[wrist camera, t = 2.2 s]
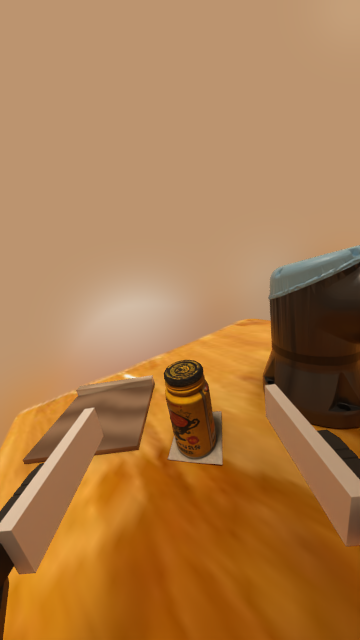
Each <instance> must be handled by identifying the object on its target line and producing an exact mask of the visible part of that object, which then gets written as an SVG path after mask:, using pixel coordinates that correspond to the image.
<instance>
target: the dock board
mask: <svg viewBox="0 0 360 640" xmlns="http://www.w3.org/2000/svg"><path fill="white" fill-rule="evenodd" d="M154 385H155V383H154V379H153V375H152V376H145V377H139V378H132V379H125V380H118V381H112V382H105V383H98V384H91V385H85V386H80V387H79V388H78V389H77V390H76V391H77V393H78V397H77V398H76V399H75V400H74V401H73V402H72V404H71V405H70V406H69V407H68V408H67V409H66V411H65V412H64V413H63V414H62V415H61V416H60V417H59V419H58V420H57V421H56V422H55V423H54V424H53V426H52V427H51V428H50V429H49V430H48V431H47V433H46V434H45V435H44V436H43V437H42V438H41V440H40V441H39V442H38V443H37V444H36V445H35V446H34V448H33V449H32V450H31V451H30V452H29V453H28V455H27V456H26V457H25V458H24V459H23V462H24V464H29V463H37V462H45V461H47V459H48V458H49V456H50V455H51V454H52V452H53V451H54V450H55V448H56V447H57V446H58V444H59V443H60V442H61V440H62V439H63V438H64V436H65V435H66V434H67V432H68V431H69V430H70V428H71V427H72V426H73V424H74V423H75V422H76V420H77V419H78V417H79V416H80V415H81V413H82V412H83V411H84V409H88V408H95V411H96V414H97V417H98V420H99V423H100V427H101V430H102V433H103V438H102V440H101V442H100V444H99V446H98V448H97V450H96V452H95V454H94V455H100V454H108V453H116V452H124V451H132V450H138V449H139V445H140V441H141V437H142V433H143V429H144V425H145V421H146V417H147V413H148V409H149V405H150V401H151V397H152V393H153V389H154Z"/></svg>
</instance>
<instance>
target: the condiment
mask: <svg viewBox="0 0 360 640" xmlns="http://www.w3.org/2000/svg"><path fill="white" fill-rule="evenodd" d="M164 379H165V385H166V389H165V395H166V400H167V405H168V409H169V413H170V419H171V422H172V427H173V432H174V438H173V442H172V446H171V449H170V453H169V457H168V459H170V460H177V461H185V462H195V463H207V464H209V463H211V464H220V465H222V421H221V411H219V412H218V411H217V412H212V406H211V399H210V392H209V386H208V383H207V382H206V380H205V377H204V375H203V367H202V366H201V364H200V363H198V362H196V361H192V360H183V361H178V362H175V363H173V364H171V365H170V366H168V367H167V368H166V370H165V372H164Z"/></svg>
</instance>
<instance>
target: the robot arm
mask: <svg viewBox="0 0 360 640" xmlns="http://www.w3.org/2000/svg"><path fill="white" fill-rule="evenodd" d="M269 300H270V315H271V337H272V351H271V354H270V357H269V360H268V362H267V365H266V368H265V370H264V373H263V387H264V391H265V404H266V417H267V418H268V420H269V422H270V423H271V425H272V427H273V428H274V430H275V431H276V433H277V435H278V436H279V438H280V440H281V441H282V443H283V445H284V446H285V448H286V449H287V451H288V453H289V454H290V456H291V458H292V459H293V461H294V462H295V464H296V466H297V467H298V469H299V471H300V472H301V474H302V476H303V477H304V479H305V480H306V482H307V484H308V485H309V487H310V489H311V490H312V492H313V493H314V495H315V497H316V498H317V500H318V502H319V503H320V505H321V506H322V508H323V510H324V511H325V513H326V515H327V516H328V518H329V520H330V521H331V523H332V524H333V526H334V528H335V529H336V531H337V533H338V534H339V536H340V537H341V539H342V541H343V542H344V544H345V546H357V545H360V459H359V458H358V456H357V455H356V454H355V453H354V452H353V451H352V450H350V449H349V447H348V446H347V445H346V444H345V443H344V442H343V441H342V440H341V439H340V438H339V437H337V436H336V435H334V434H333V433H331V432H330V431H328V430H320V431H316V430H315V429H314V427H313V426H312V425H311V424H310V423H312V424H316V425H320V426H325V427H331V428H353V427H358V426H360V245H359V246H355V247H351V248H347V249H344V250H340V251H336V252H332V253H329V254H325V255H321V256H317V257H314V258H310V259H307V260H302V261H299V262H295V263H292V264H289V265H285V266H282V267H279V268H277V269H276V270H275V271H274V272H273V273H272V275H271V278H270V295H269ZM102 438H103V433H102V430H101V427H100V423H99V420H98V417H97V414H96V411H95V408H88V409H84V411H83V412H82V413H81V415H80V416H79V417H78V419H77V420H76V422H75V423H74V424H73V426H72V427H71V428H70V430H69V431H68V432H67V434H66V435H65V436H64V438H63V439H62V440H61V442H60V443H59V444H58V446H57V447H56V448H55V450H54V451H53V452H52V454H51V455H50V456H49V458H48V459H47V461H46V462H45V463H42V464H39V465H38V466H37V467H36V468H35V469H34V470H33V471H32V472H31V473H30V474H29V475H28V476H27V478H26V479H25V480H24V482H23V483H22V484H21V486H20V487H19V488H18V489H17V490H16V492H15V493H14V494H13V497H11V498H10V499H9V501H8V502H7V503H6V505H5V506H4V507H3V508H2V510H1V511H0V640H3V632H4V624H5V615H6V606H7V597H8V589H9V580H8V575H9V573H10V572H11V570H12V568H13V567H15V568H16V570H17V572H18V573H19V574H27V573H36V571H37V569H38V567H39V565H40V563H41V561H42V559H43V557H44V555H45V553H46V551H47V549H48V547H49V545H50V543H51V541H52V539H53V537H54V535H55V533H56V531H57V529H58V527H59V525H60V523H61V521H62V519H63V517H64V515H65V513H66V511H67V509H68V507H69V505H70V503H71V501H72V499H73V497H74V495H75V493H76V491H77V489H78V487H79V485H80V482H81V480H82V478H83V476H84V474H85V472H86V470H87V468H88V466H89V464H90V462H91V460H92V458H93V456H94V454H95V452H96V450H97V448H98V446H99V444H100V442H101V440H102Z"/></svg>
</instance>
